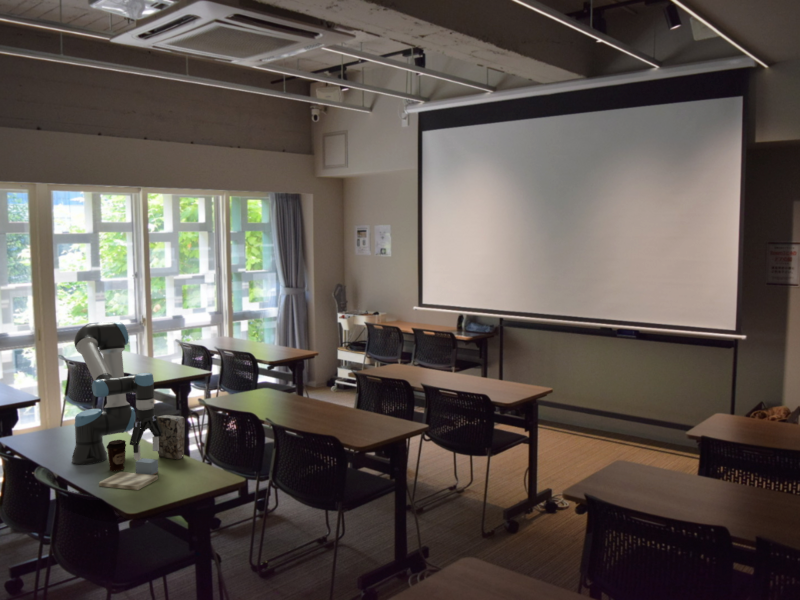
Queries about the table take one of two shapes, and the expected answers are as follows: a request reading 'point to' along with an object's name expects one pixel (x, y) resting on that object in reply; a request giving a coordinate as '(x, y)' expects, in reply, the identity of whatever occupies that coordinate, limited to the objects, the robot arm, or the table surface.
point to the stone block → (171, 436)
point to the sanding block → (147, 466)
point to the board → (128, 480)
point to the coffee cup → (116, 455)
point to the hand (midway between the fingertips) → (146, 455)
